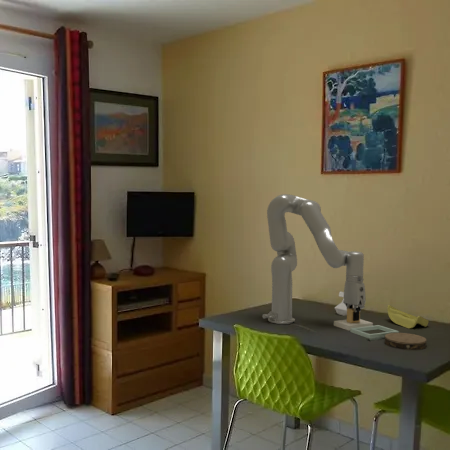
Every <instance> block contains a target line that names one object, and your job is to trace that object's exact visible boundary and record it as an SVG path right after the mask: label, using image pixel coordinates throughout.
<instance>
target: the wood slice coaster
mask: <svg viewBox="0 0 450 450" xmlns="http://www.w3.org/2000/svg"><path fill="white" fill-rule="evenodd" d="M384 344H385V345H387V346H388V347H391V348H394V349H400V350H408V351H417V350H423V349H426V348H427V338H426V337H424V336H422V335H418V334H414V333H408V332H399V333H389V334H386V335H385V339H384Z"/></svg>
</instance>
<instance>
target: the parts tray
mask: <svg viewBox="0 0 450 450" xmlns="http://www.w3.org/2000/svg"><path fill="white" fill-rule="evenodd" d="M373 330H374V331H375V330H380V331H381V332H379V333H368V332H369V331H373ZM349 331H350V332H349V333H352V334H355V335H358V336H361V337H364V338H367V341H369V342H372V341H380V340H385V335H386V334H389V333H400V331H399V330H396V329H392V328H390V327H386V326H384V325H379V324H377V325H373V326H367V327H359V328H351V330H349ZM367 331H368V332H367Z"/></svg>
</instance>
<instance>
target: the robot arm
mask: <svg viewBox="0 0 450 450" xmlns="http://www.w3.org/2000/svg"><path fill="white" fill-rule="evenodd" d="M287 213H291V214H294V215H297V216H301V218H302V220H303V221H304V223H305V224H306V225H307V228H308V230H309V231H310V232H311V235H312V237H313V238H314V241H315V243H316V245H317V247H318V249H319V252H320V253H321V255H322V257H323V258H324V260H325V261H326V263H327V265H328V266H329V267H331V268H333V269H339V268H341V267H344V266H345V283H344V288H343V292H344V297H343V298H344V301H343V303H344V304H345V305H346V307H347V309H348V308H353V305H354V312H353V321H358V320H359V312H360V313H361V311H362V310H363V309H365V307H366V306H365V305H366V297H367V296H366V288H365V287H366V286H365V283H364V263H365V259H364V257H365V256H364V255H365V254H364V253H363V252H362V251H357V250H356V251H354V250H353V251H347V250H342V249H339V248H338V246H337V244H336V242H335V241H334V239H333V236H332V229H331V226H330V225H329V223H328V221H327V220H326V219H325V217H324V214H323V213H322V207H321V206H320V204H319V202H317V201H315V200H311V199H307V198H304V197H301V196H298V195H294V194H286V193H284V194H283V193H282V194H280V195H277V196H275V197H274V198H273V199H272V200H271V201H270V202H269V204H268V206H267V210H266V214H267V216H266V217H267V218H266V219H267V224H268V234H269V242H270V246H271V248H272V250H273V251H275V252H276V254H277V255H276V256H275V257H274V258H273V259H272V262H271V266H270V268H271V269H270V272H271V284H272V285H271V311H270V310H269V313H264V314H262V319H267V321H268V322H270V323H272V324H278V325H289V324H294V323H295V321H296V318H294V317H293V274H292V273H293V272H294V271H295V269H296V268H297V266H298V257H297V249H296V242H295V241H296V240H295V238H294V236H293V234H292V233H291V232H289V231H288V228H287V226H288V225H287V221H286V217H285V216H286V215H285V214H287Z"/></svg>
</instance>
